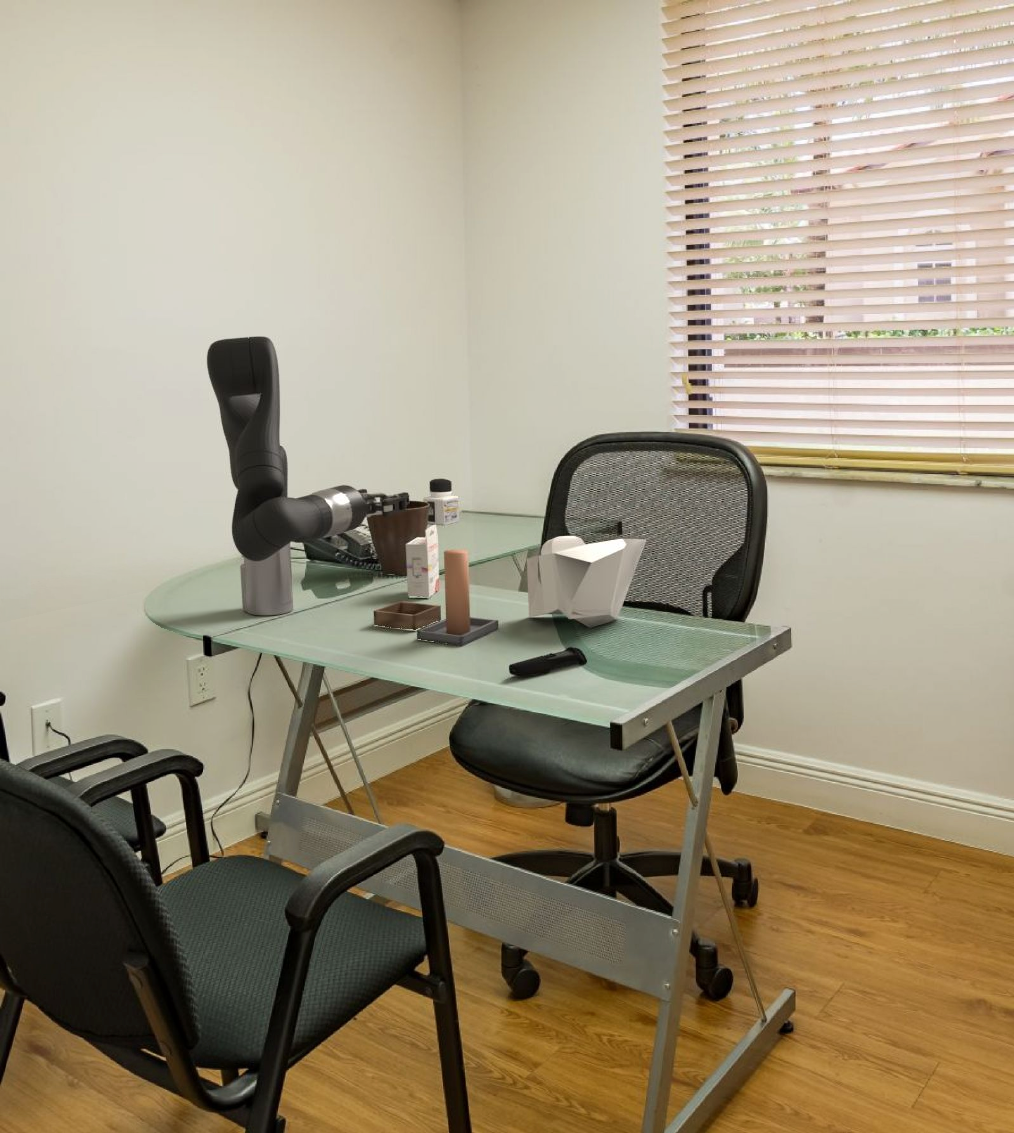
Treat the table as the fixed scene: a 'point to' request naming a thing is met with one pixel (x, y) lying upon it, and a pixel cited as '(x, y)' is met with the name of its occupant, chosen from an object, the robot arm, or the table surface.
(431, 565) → the ink cartridge box
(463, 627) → the dowel
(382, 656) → the table surface
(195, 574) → the table surface
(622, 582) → the folded paper
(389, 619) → the wooden square frame
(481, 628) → the desk tray
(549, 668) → the electric trimmer
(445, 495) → the container
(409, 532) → the plant pot
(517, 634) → the table surface
